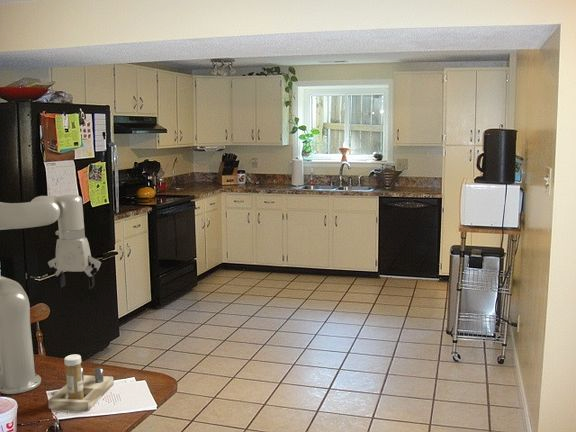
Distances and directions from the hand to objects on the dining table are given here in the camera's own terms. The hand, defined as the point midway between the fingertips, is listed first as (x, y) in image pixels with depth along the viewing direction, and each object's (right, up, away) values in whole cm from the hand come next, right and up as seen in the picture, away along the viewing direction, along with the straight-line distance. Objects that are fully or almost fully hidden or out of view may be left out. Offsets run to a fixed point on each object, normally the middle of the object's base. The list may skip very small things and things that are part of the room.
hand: (76, 287), depth 196 cm
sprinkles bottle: (+5, -31, -16) cm, 35 cm away
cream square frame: (+6, -31, -12) cm, 34 cm away
